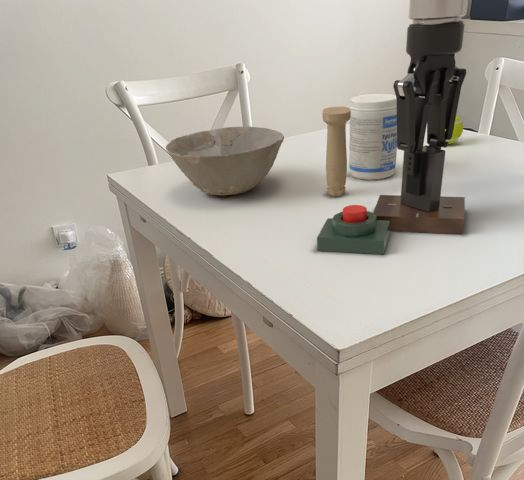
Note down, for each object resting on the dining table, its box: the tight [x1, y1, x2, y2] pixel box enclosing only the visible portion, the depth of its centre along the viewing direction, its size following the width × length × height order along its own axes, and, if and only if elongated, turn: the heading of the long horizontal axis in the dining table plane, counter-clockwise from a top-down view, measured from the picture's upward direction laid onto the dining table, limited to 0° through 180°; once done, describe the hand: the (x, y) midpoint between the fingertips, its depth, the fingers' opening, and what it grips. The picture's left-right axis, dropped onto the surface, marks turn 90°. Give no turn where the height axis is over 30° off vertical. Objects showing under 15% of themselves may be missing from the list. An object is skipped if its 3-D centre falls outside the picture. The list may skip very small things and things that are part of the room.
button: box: [342, 204, 368, 223], centre depth 82 cm, size 4×4×2 cm
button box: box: [316, 210, 391, 255], centre depth 83 cm, size 10×8×4 cm
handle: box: [321, 106, 351, 197], centre depth 99 cm, size 5×6×15 cm
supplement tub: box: [348, 93, 398, 181], centre depth 108 cm, size 10×10×15 cm
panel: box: [372, 194, 466, 235], centre depth 89 cm, size 14×10×3 cm
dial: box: [400, 145, 447, 212], centre depth 85 cm, size 6×2×9 cm, turn 37°
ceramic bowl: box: [165, 126, 285, 196], centre depth 107 cm, size 22×23×10 cm
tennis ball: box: [445, 114, 464, 145], centre depth 125 cm, size 7×7×7 cm
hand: (420, 190), depth 87 cm, fingers closed on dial, 2 cm apart
